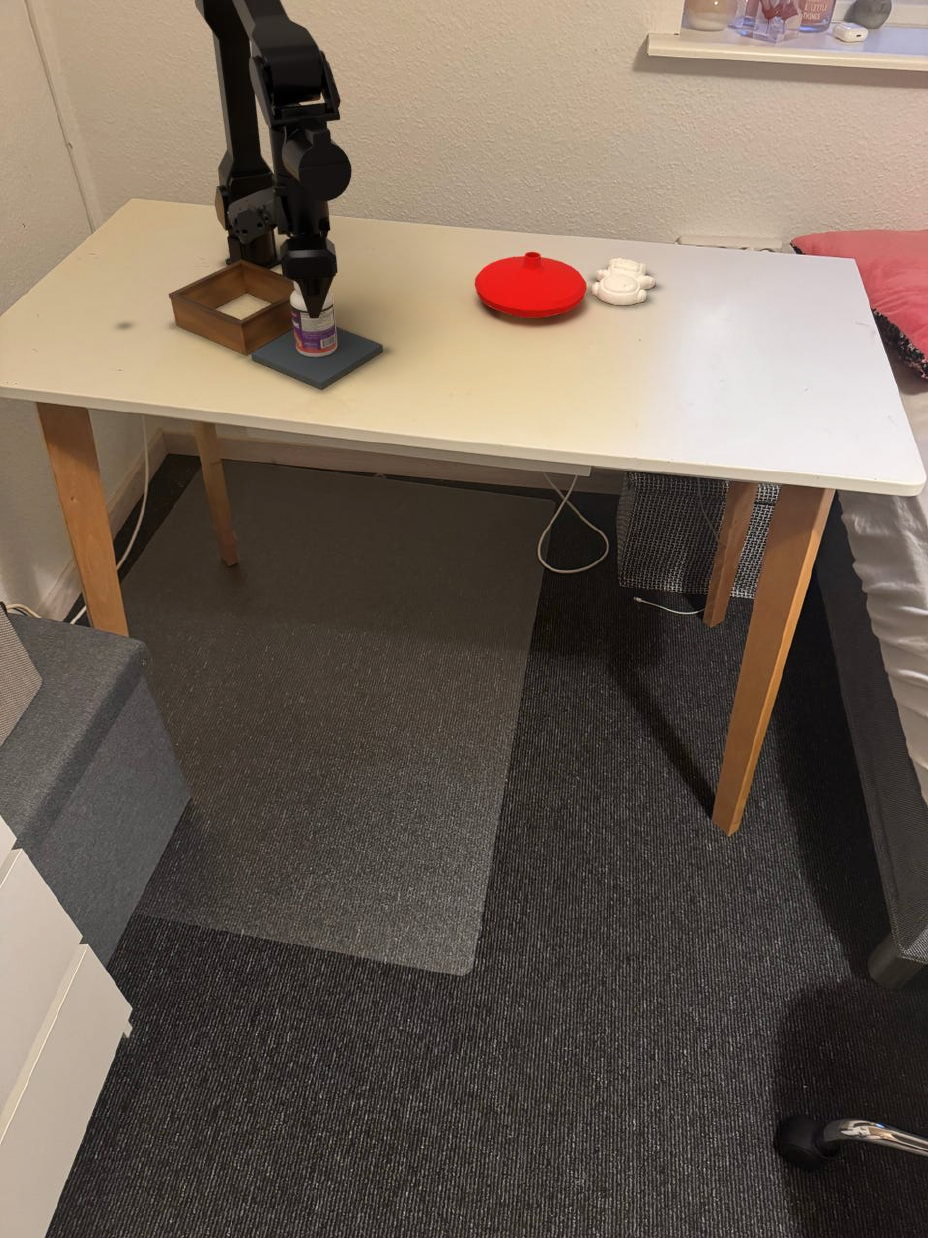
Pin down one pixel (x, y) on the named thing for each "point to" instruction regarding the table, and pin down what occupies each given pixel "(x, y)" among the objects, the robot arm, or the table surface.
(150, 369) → the table surface
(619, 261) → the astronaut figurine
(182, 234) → the table surface
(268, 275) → the wooden square frame
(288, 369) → the mat
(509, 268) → the flat cone with hole
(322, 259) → the robot arm
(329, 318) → the pill bottle
